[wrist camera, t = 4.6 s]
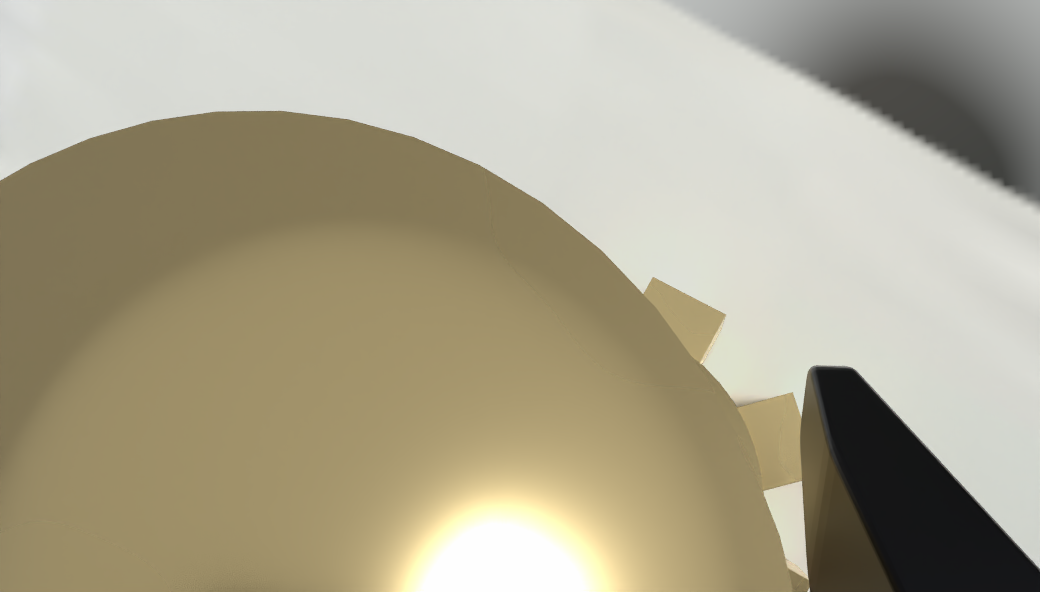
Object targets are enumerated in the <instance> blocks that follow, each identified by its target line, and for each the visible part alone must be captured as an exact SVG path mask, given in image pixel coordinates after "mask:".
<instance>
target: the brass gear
mask: <svg viewBox="0 0 1040 592" xmlns="http://www.w3.org/2000/svg"><path fill="white" fill-rule="evenodd" d="M725 317H726V315H725V314H723V313H722V312H720V311H718V310H716V309H714V308H712V307H710V306H708V305H706V304H704V303H702V302H700V301H698V300H696V299H694V298H693V297H691V296H689V295H687V294H685V293H683V292H681V291H679V290H677V289H675V288H673V287H671V286H669V285H667V284H665V283H663V282H662V281H660V280H658V279H656V278H654V277H653V278H652V280H651V282H650V283H649V285H648V287H647V289H646V291H645V292H644V294H642V293H641V291H640V290H639V289H638V288H637V287H636V286H635V285H634V284H633V283H632V282H631V281H630V280H629V279H628V278H627V277H626V276H625V275H624V274H623V273H622V272H621V270H620V269H619V268H618V267H617V266H616V265H615V264H614V263H613V262H612V261H611V260H610V259H609V258H608V257H607V256H606V255H605V254H604V253H603V252H602V251H601V250H600V249H599V248H598V247H597V246H595V245H594V244H593V243H592V242H590V241H589V240H588V239H587V238H585V237H584V236H583V235H582V234H580V233H579V232H578V231H577V230H575V229H574V228H573V227H572V226H570V225H569V224H568V223H567V222H565V221H564V220H563V219H562V218H560V217H559V216H558V215H557V214H555V213H554V212H553V211H552V210H550V209H549V208H548V207H547V206H545V205H544V204H543V203H542V202H540V201H538V200H537V199H535V198H533V197H532V196H530V195H528V194H527V193H525V192H523V191H522V190H520V189H518V188H517V187H515V186H513V185H512V184H510V183H508V182H507V181H505V180H503V179H502V178H500V177H498V176H497V175H495V174H493V173H492V172H490V171H488V170H487V169H485V168H483V167H482V166H480V165H478V164H475V163H473V162H471V161H468V160H466V159H464V158H461V157H459V156H457V155H454V154H452V153H450V152H447V151H445V150H443V149H440V148H438V147H436V146H433V145H431V144H429V143H426V142H424V141H421V140H419V139H417V138H414V137H411V136H407V135H403V134H400V133H396V132H392V131H389V130H385V129H381V128H378V127H374V126H370V125H367V124H363V123H359V122H355V121H352V120H348V119H340V118H332V117H324V116H317V115H309V114H301V113H293V112H285V111H237V112H211V113H204V114H197V115H190V116H183V117H176V118H169V119H162V120H155V121H150V122H146V123H143V124H139V125H136V126H132V127H129V128H125V129H122V130H118V131H115V132H111V133H107V134H104V135H100V136H97V137H93V138H90V139H87V140H85V141H83V142H80V143H78V144H75V145H73V146H71V147H68V148H66V149H64V150H61V151H59V152H57V153H54V154H52V155H50V156H47V157H45V158H42V159H40V160H38V161H35V162H33V163H31V164H29V165H27V166H25V167H24V168H22V169H20V170H18V171H17V172H15V173H13V174H11V175H10V176H8V177H6V178H4V179H3V180H1V181H0V592H807V591H808V589H809V587H810V586H809V578H808V577H807V576H806V575H805V574H804V573H803V571H802V570H801V569H800V568H799V567H798V566H797V565H795V564H794V563H792V562H790V561H789V560H787V559H785V556H784V552H783V548H782V544H781V540H780V536H779V533H778V531H777V528H776V525H775V523H774V520H773V518H772V515H771V513H770V510H769V507H768V505H767V502H766V500H765V497H764V493H763V491H764V490H768V489H772V488H776V487H780V486H783V485H787V484H791V483H795V482H799V481H802V470H801V453H800V428H801V416H800V413H799V410H798V407H797V404H796V401H795V398H794V395H793V392H792V393H788V394H785V395H781V396H777V397H774V398H770V399H767V400H763V401H759V402H756V403H752V404H748V405H745V406H741V407H736V405H735V403H734V402H733V401H732V399H731V398H730V396H729V395H728V394H727V392H726V391H725V390H724V388H723V387H722V386H721V384H720V383H719V382H718V381H717V380H716V379H715V378H714V377H713V376H712V374H711V373H710V372H709V371H708V370H707V369H706V368H705V367H704V366H703V365H702V364H703V362H704V360H705V359H706V357H707V355H708V353H709V351H710V349H711V348H712V346H713V344H714V342H715V340H716V338H717V337H718V335H719V333H720V331H721V329H722V326H723V323H724V320H725Z"/></svg>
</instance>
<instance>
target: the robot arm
mask: <svg viewBox="0 0 1040 592" xmlns="http://www.w3.org/2000/svg"><path fill="white" fill-rule="evenodd" d="M800 453H801V470H802V487H803V504H804V521H805V538H806V555H807V567H808V578H809V586H810V592H1040V569H1039V568H1038V567H1037V566H1036V564H1035V563H1034V562H1033V561H1032V560H1031V559H1030V558H1029V557H1028V556H1027V555H1026V554H1025V553H1024V552H1023V550H1022V549H1021V548H1020V547H1019V546H1018V545H1017V544H1016V543H1015V542H1014V541H1013V540H1012V539H1011V537H1010V536H1009V535H1008V534H1007V533H1006V532H1005V531H1004V530H1003V529H1002V528H1001V527H1000V526H999V524H998V523H997V522H996V521H995V520H994V519H993V518H992V517H991V516H990V515H989V514H988V513H987V511H986V510H985V509H984V508H983V507H982V506H981V505H980V504H979V503H978V502H977V501H976V500H975V498H974V497H973V496H972V495H971V494H970V493H969V492H968V491H967V490H966V489H965V488H964V487H963V485H962V484H961V483H960V482H959V481H958V480H957V479H956V478H955V477H954V476H953V475H952V474H951V473H950V471H949V470H948V469H947V468H946V467H945V466H944V465H943V464H942V463H941V462H940V461H939V460H938V458H937V457H936V456H935V455H934V454H933V453H932V452H931V451H930V450H929V449H928V448H927V447H926V445H925V444H924V443H923V442H922V441H921V440H920V439H919V438H918V437H917V436H916V435H915V434H914V432H913V431H912V430H911V429H910V428H909V427H908V426H907V425H906V424H905V423H904V422H903V421H902V419H901V418H900V417H899V416H898V415H897V414H896V413H895V412H894V411H893V410H892V409H891V408H890V406H889V405H888V404H887V403H886V402H885V401H884V400H883V399H882V398H881V397H880V396H879V395H878V394H877V392H876V391H875V390H874V389H873V388H872V387H871V386H870V385H869V384H868V383H867V382H866V381H865V379H864V378H863V377H862V376H861V375H860V374H859V373H858V372H857V371H856V370H855V369H853V368H851V367H847V366H820V365H816V366H813V367H811V368H810V370H809V371H808V374H807V380H806V388H805V396H804V404H803V412H802V419H801V428H800Z"/></svg>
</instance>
